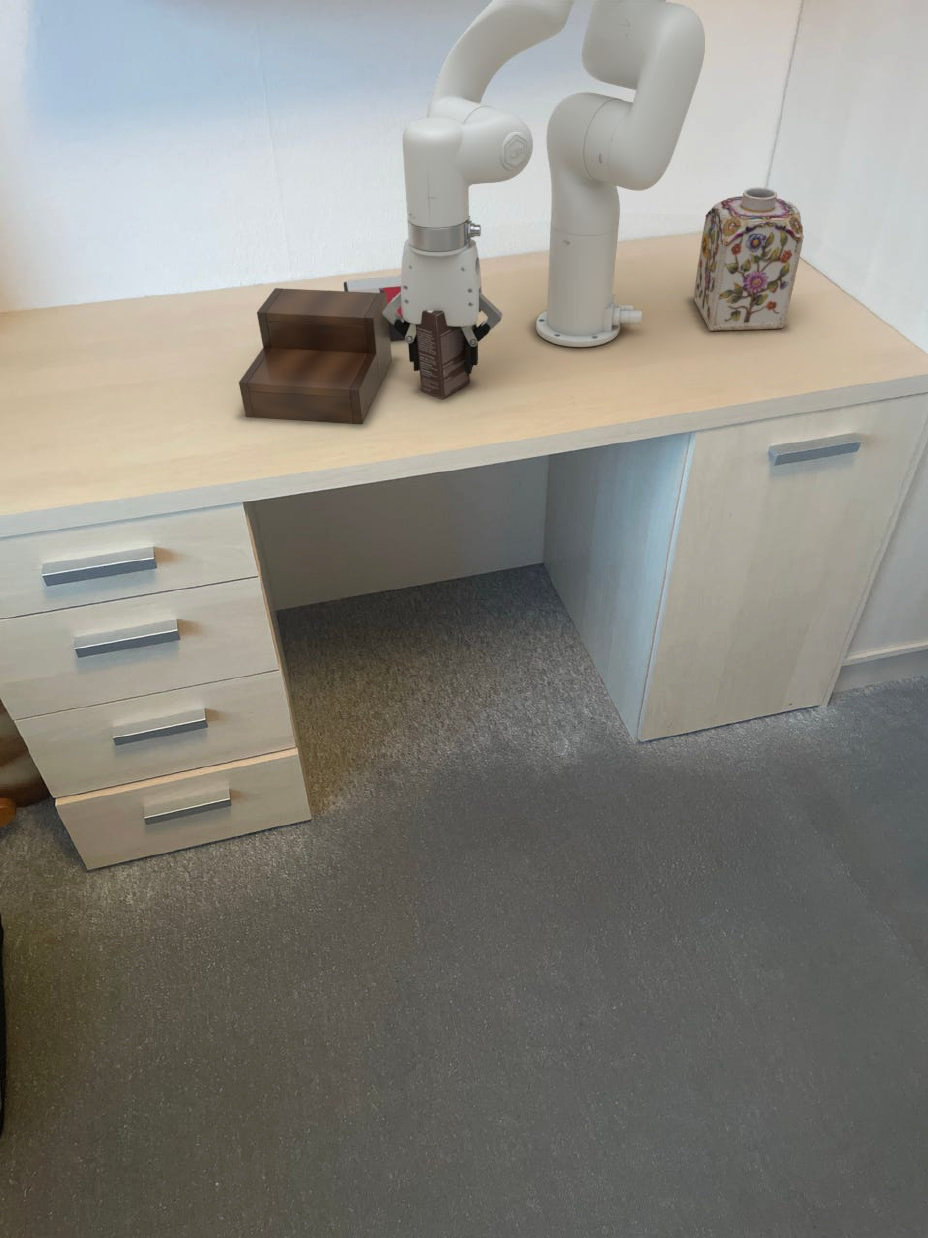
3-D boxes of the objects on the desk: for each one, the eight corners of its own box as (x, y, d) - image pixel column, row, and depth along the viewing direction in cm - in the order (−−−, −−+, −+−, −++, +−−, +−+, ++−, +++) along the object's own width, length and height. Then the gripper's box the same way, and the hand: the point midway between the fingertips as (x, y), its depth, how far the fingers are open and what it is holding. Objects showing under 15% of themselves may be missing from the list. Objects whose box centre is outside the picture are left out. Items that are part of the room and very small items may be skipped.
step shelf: (391, 360, 132) (386, 292, 125) (362, 424, 119) (354, 352, 112) (286, 354, 134) (275, 287, 127) (245, 416, 121) (230, 346, 114)
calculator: (351, 321, 133) (342, 276, 143) (354, 348, 136) (345, 302, 146) (425, 314, 134) (411, 270, 145) (426, 341, 137) (412, 296, 148)
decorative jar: (764, 297, 145) (789, 177, 133) (785, 329, 136) (814, 204, 124) (690, 299, 145) (708, 179, 132) (706, 332, 136) (727, 207, 124)
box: (446, 374, 128) (443, 290, 120) (470, 383, 126) (469, 299, 118) (417, 390, 125) (412, 306, 117) (442, 400, 123) (438, 315, 115)
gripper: (512, 224, 113) (510, 358, 125) (376, 219, 115) (387, 351, 127) (505, 247, 108) (503, 384, 120) (362, 241, 110) (375, 377, 122)
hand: (444, 366), depth 123 cm, fingers closed on box, 6 cm apart
